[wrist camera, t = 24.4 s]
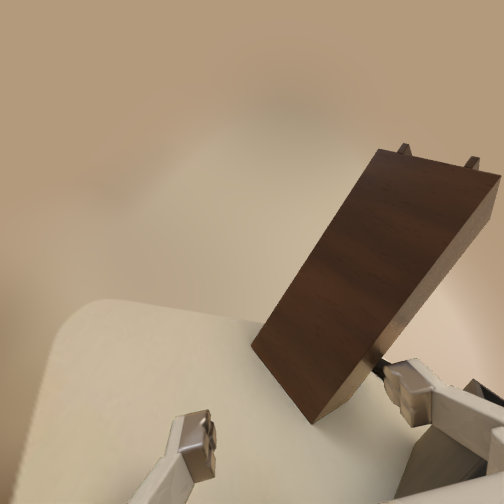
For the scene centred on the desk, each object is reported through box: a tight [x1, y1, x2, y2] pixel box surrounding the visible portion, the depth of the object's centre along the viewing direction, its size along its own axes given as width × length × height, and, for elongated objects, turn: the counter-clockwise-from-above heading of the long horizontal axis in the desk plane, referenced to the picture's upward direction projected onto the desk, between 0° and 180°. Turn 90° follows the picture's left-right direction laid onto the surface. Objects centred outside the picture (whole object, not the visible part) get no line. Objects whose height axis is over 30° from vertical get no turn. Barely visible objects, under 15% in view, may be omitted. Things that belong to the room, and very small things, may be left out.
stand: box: [251, 143, 501, 424], centre depth 27 cm, size 10×10×27 cm
